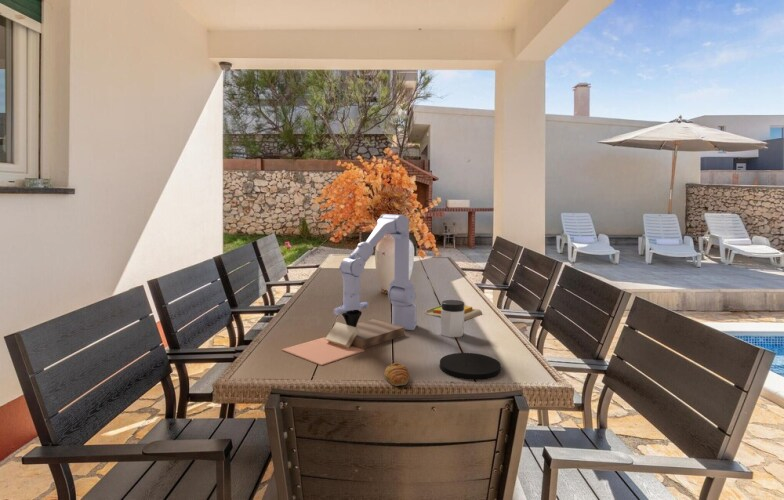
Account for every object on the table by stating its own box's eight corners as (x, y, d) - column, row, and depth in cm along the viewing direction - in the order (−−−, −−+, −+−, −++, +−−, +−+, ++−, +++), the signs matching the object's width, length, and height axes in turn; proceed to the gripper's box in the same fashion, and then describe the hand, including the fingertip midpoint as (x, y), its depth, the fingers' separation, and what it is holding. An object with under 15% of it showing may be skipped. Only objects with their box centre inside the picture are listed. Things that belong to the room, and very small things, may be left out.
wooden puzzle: (446, 307, 217) (446, 300, 216) (482, 314, 205) (483, 306, 204) (423, 315, 203) (423, 307, 203) (461, 323, 191) (462, 314, 191)
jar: (443, 329, 180) (444, 298, 178) (465, 331, 177) (466, 300, 176) (438, 336, 171) (439, 304, 170) (461, 338, 169) (462, 305, 167)
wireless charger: (469, 355, 153) (469, 349, 153) (513, 372, 139) (513, 365, 139) (427, 366, 142) (427, 360, 142) (470, 386, 128) (470, 379, 128)
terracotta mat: (324, 338, 168) (324, 337, 168) (364, 351, 155) (364, 350, 154) (281, 350, 155) (281, 349, 154) (321, 365, 141) (321, 364, 141)
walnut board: (373, 326, 183) (373, 318, 183) (404, 335, 172) (404, 327, 172) (329, 339, 167) (329, 330, 166) (361, 349, 156) (361, 340, 156)
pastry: (413, 387, 127) (413, 373, 127) (388, 389, 126) (389, 375, 125) (405, 374, 136) (405, 361, 136) (382, 375, 135) (382, 362, 134)
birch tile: (339, 325, 166) (336, 321, 165) (359, 330, 159) (356, 327, 158) (328, 341, 163) (325, 338, 161) (348, 348, 156) (345, 344, 155)
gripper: (343, 298, 154) (343, 338, 155) (374, 291, 164) (374, 329, 166) (329, 294, 158) (329, 334, 160) (360, 288, 169) (360, 325, 171)
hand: (351, 331), depth 163 cm, fingers closed
